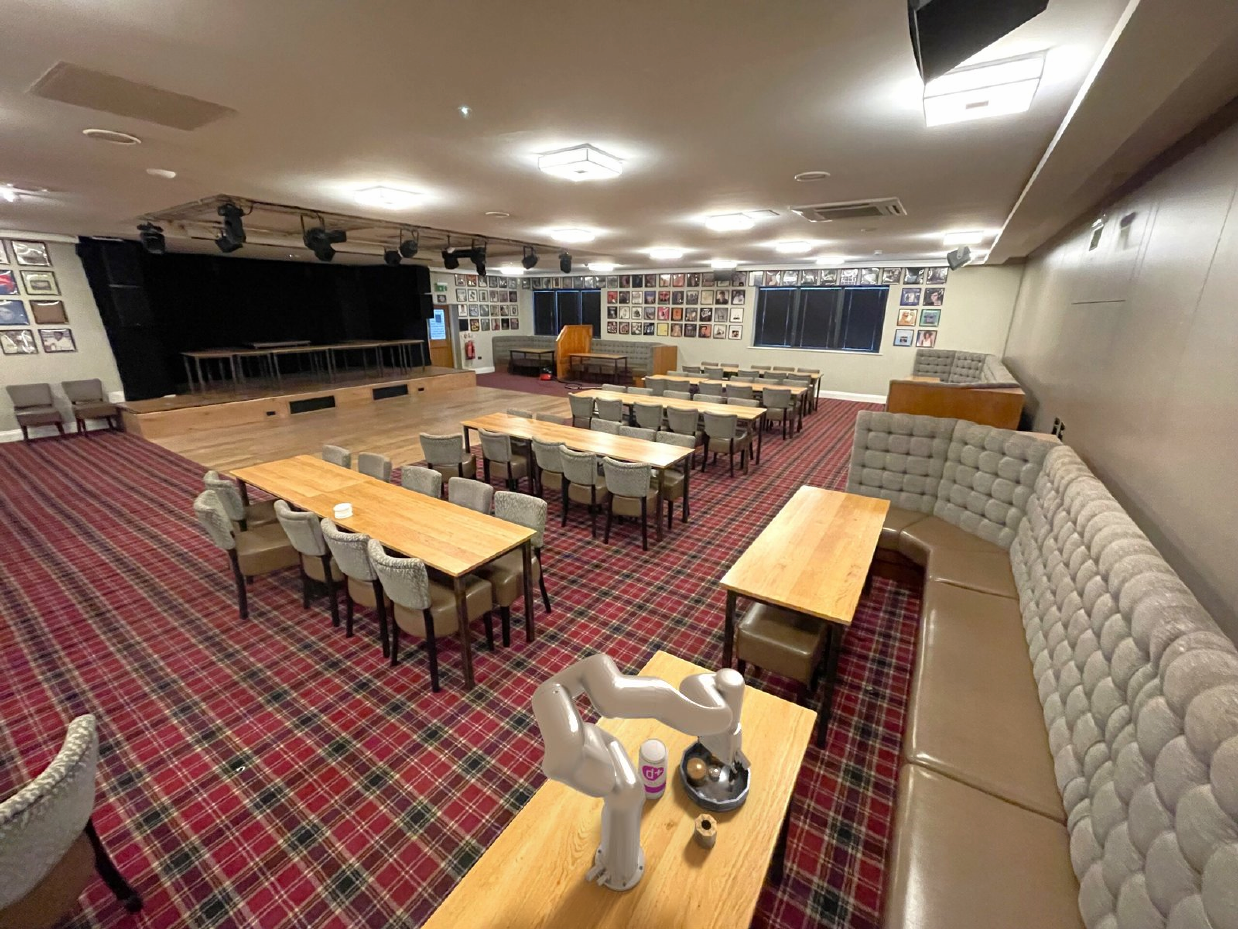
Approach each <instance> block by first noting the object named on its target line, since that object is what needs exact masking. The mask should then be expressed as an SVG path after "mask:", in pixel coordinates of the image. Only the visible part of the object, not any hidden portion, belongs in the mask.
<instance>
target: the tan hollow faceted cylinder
mask: <svg viewBox="0 0 1238 929" xmlns="http://www.w3.org/2000/svg"><path fill="white" fill-rule="evenodd" d="M693 831H694V832H693V833H694V834H693V835H694V842H695V843H696V844H697V845H698V846H699V847H700V849H704V850H705V849H706V850H711V849H712V848H713V846H715V844H716V841H717V835H718V834H717V833H718V826H717V820H715V819H714V817H713V816H712V815H710V814H708V813H707V814H706V813H701V814H699V816H698V817H697V818H695V822H694V830H693Z"/></svg>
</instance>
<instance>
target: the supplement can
mask: <svg viewBox="0 0 1238 929" xmlns="http://www.w3.org/2000/svg"><path fill="white" fill-rule="evenodd" d="M668 763H669V749H668V748H667V746H666V745H665V743H664V742H663V740H661V739H658V738H653V737H652V738H648V739H646V740H645V741H644V742H643V743H642V744H641V745H640V747H639V749H638V766H637V767H638V768H637V769H638V770H637V771H638V773H639V775H640V777H641V779H642V781H643V784H644V787H645V790H646V799H649V800H657V799H659V798H660V797H662V796H663V795H664V794H665V792H666V788H667V780H668V779H667V778H668V766H669V765H668Z"/></svg>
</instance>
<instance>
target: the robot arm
mask: <svg viewBox="0 0 1238 929" xmlns="http://www.w3.org/2000/svg"><path fill="white" fill-rule="evenodd" d="M678 687H679V688H678V690H679V691H678V690H677V689H676V688H675V687H674V686H672V685H671V684H669V683H668V682H667V681H666V680H664V679H663V678H661V677H659V676H656V675H635V674H634V675H631V674H624V673H623V672H621V670H620V669H619V667H618V666H617V664H616V662H614V660H613V658H612V657H611V656H610V655H608V654H607V653H606V654H605V653H598V654H592V655H590V656H587V657H585V658H583V659H581V660H579V661H576V662H575V663H572V665H569V666H568V667H567V668H565V669H563V670H561V671H560V672H558V673H556V674H554V675H553V676H551V677H549V678H548V679H546V680H544V681H543V682H542V683H541V684H539V685H538V686H537V688H535V690H534V692H533V694H532V697H531V708H532V711H533V714H534V716H535V720H536V722H537V723H536V724H537V725H538V728H539V730H540V734H541V737H542V739H543V743H544V756H543V760H542V762H541V770H542V773H543V775H544V776H545V777H546V778H548V779H549V780H552V781H555V782H559V783H561V784H564V785H565V786H567V787H569V788H571V789H572V790H575V791H577V792H579V793H582V794H583V795H586V796H588V797H590V798H595V799H596V798H598V799H599V798H602V800H603V803H604V804H603V806H602V808H601V813H600V814H601V815H600V816H601V819H600V820H601V822H600V823H601V826H600V830H601V833H600V834H601V835H600V836H601V839H600V841H601V842H600V844H599V845H598V846H597V849H596V852H595V856H594V866H593V867H592V868H590V869H589V870H588V871H587V872H585V878H586V880H587V881H588V882H589V883H591V882H593V880H594V879H596V876H598V878H597V880H595V881H596V885H597V886H598V887H601V886H602V885H604V886H605V887H607V888H609V889H611V890H613V891H618V892H623V891H627V890H630V889H632V888H633V887H635V886H636V885H637V884H638V883H640V881H641V879H642V878H643V876H644V872H645V867H646V857H645V852H644V850H643V847H642V846H641V829H642V828H641V826H642V811H643V808H644V805H645V802H646V799H647V798H646V790H645V787H644V784H643V781H642V779H641V777H640V775H639V773H638V770H637V769H638V768H636V766H635V764H634V763H633V761H632V759H631V757H630V755H629V754H628V751H627V749H626V748H625V746H624V744H623V743H622V742H621V740H620V739H618V737H616V736H615V735H613V734H611V733H610V732H608V731H607V730H605V729H603V728H601V727H600V726H599V725H596V724H594V723H593V722H584V720H583V718H582V715H581V713H580V710H579V709H578V706H577V704H576V703H575V702H576V701H574V699H575V698H577V697H578V696H580V695H582V694H583V693H584V692H585V694H586V695H587V697H588V700H589V701H590V703H591V705H592V706H593V709H594V710H595V711H596V713H597V714H598V715H599V716H601V717H603V718H604V719H607V720H631V719H633V720H637V719H642V720H643V719H644V720H645V719H646V720H647V719H654V720H656V721H658V722H660V723H661V724H663V725H665V726H666V727H669V728H671V729H673V730H676V731H678V732H681V733H682V734H685V735H687V736H692V737H696V738H697V739H696V741H698V743H699V747H698V749H699V752H698V755H699V756H702V755H703V754H704V753H705V752H706V751H707V750H709V751H710V752H711V753H712V754H713V755H715V756H716V757H717V758H718V759H720V760H721V761H722V762H723V763H725V764H726V765H730V766H731V769H730V773H729V779H728V780H729V782H730V783H731V782H732V781H733V780H736V779H737V778H738V776H739V772H743V771H744V770H746V769H748V768H749V769H750V767H751V766H752V763H751V762H750V759H748V757H747V756H746V754H745V753H744V752H743V751H742V746H743V745H742V744H743V732H742V731H743V730H742V725H741V724H742V723H740V722H741V715H742V714H741V713H742V708H743V702H744V695H745V689H746V683H745V679H744V677H743V674H741V673H740V672H739V671H737V670H736V669H733V668H729V667H727V668H726V667H725V668H721V669H719V670H717V671H716V672H704V673H694V674H690V675H687V676H686V677H685V678H683V679H682V680H681V682H680V684H679V686H678ZM734 760H735V761H736V764H734ZM741 762H742V763H741Z"/></svg>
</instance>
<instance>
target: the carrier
mask: <svg viewBox="0 0 1238 929" xmlns="http://www.w3.org/2000/svg"><path fill="white" fill-rule="evenodd" d="M698 747H699V743H698V741H697V740H694V741H693V742H692V743H691V744H689V745H688V746H687V747H686V748H685V749H684V750H683V751H682V755H681V760H680V763H679V769H678V770H679V771H678V774H679V778H680V784H681V786H682V788H683V790H684V792H685V794H686V795H687V796H688V798H689V799H691V801H692V802H694V804H696V805H697V806H699V807H701V808H702V809H704V810H706V811H710V812H714V813H728V812H731V811H734V810H736V809H738V808H739V807H741V805H742V804H744V802H745V801H746V799H747V797H748V795H749V792H750V785H751V776H752V775H751V774H752V771H751V769H750V767H749V768H748V769H746V770H744V771H743V772H739V776H738V778H737V779H736V780H733V781H732V782H731V783H730V782H729V780H728V779H729V773H730V769H731V766H730V765H726V764H725V763H723V762H722V761H721V760H720V759H718V758H717V757H716V756H715V755H713V754H712V753H711V752H710V751H709V750H707V751H706V752H705V753H704V754H703V755H702V756H699V755H698V752H699V749H698ZM741 763H742V762H741ZM734 764H736V761H735V760H734Z"/></svg>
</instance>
